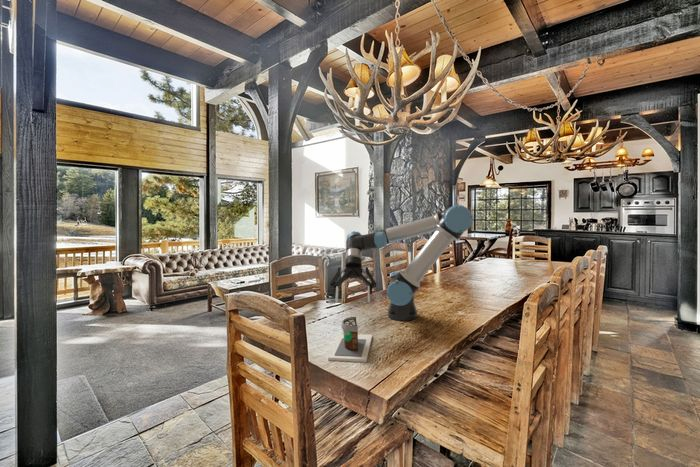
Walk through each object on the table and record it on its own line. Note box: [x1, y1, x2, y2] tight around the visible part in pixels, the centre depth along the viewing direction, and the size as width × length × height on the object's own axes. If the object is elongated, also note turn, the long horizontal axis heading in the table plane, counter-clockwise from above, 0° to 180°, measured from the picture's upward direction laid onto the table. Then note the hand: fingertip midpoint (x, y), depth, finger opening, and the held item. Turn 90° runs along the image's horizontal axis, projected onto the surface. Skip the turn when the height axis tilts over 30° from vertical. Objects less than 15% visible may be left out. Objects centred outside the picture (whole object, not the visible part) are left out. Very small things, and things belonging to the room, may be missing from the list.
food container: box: [341, 316, 359, 351], centre depth 129 cm, size 12×6×10 cm, turn 2°
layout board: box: [327, 333, 373, 363], centre depth 131 cm, size 14×24×1 cm, turn 171°
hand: (352, 301), depth 139 cm, fingers open, 13 cm apart
